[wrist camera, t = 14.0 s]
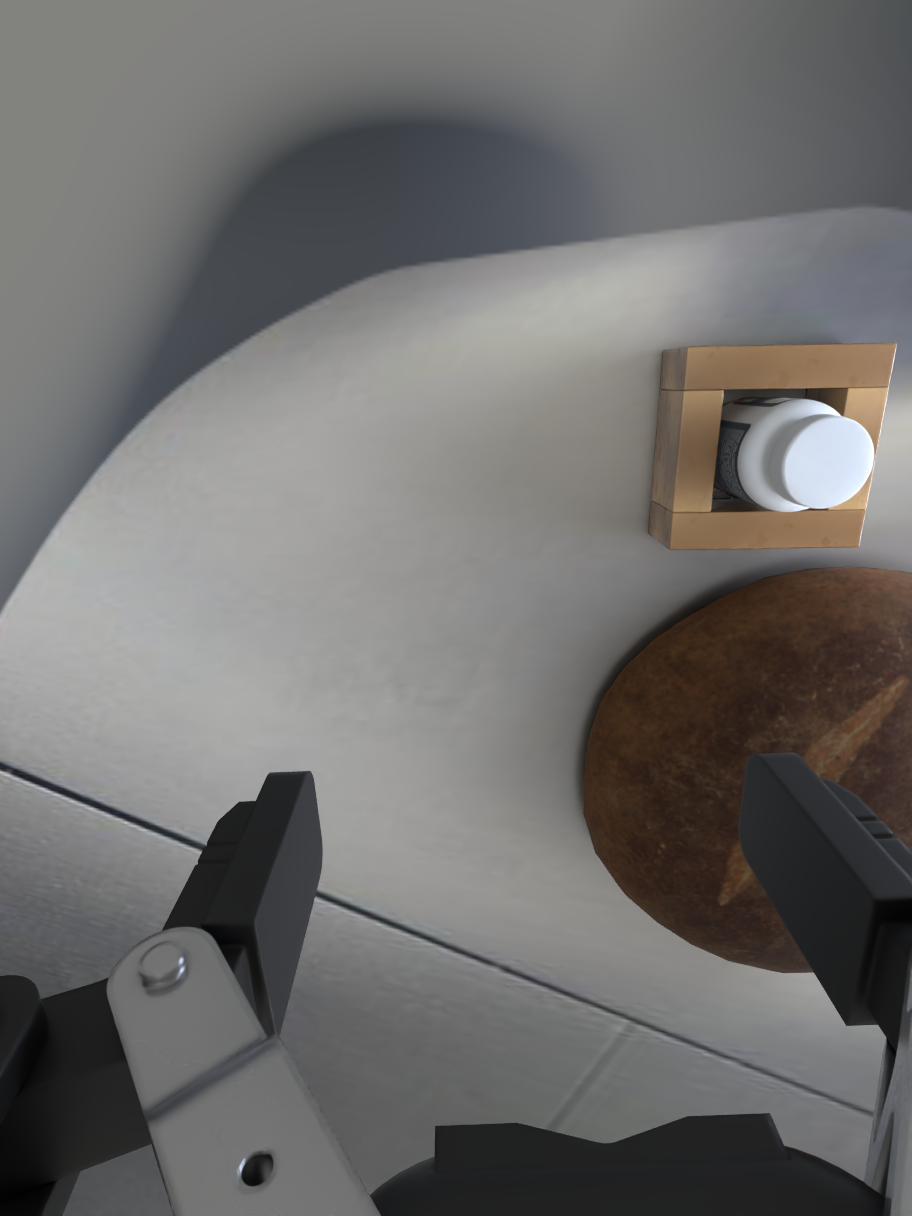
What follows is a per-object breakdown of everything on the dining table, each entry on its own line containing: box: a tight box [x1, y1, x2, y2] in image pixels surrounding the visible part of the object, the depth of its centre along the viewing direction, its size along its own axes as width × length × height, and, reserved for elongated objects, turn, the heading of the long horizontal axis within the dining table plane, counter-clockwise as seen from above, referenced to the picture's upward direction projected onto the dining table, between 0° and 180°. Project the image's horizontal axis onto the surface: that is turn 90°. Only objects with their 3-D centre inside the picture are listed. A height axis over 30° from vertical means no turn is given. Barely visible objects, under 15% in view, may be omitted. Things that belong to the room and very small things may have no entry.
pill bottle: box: [714, 397, 874, 512], centre depth 33 cm, size 5×5×9 cm
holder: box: [649, 343, 897, 550], centre depth 35 cm, size 10×10×4 cm
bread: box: [584, 567, 912, 973], centre depth 39 cm, size 28×27×9 cm
